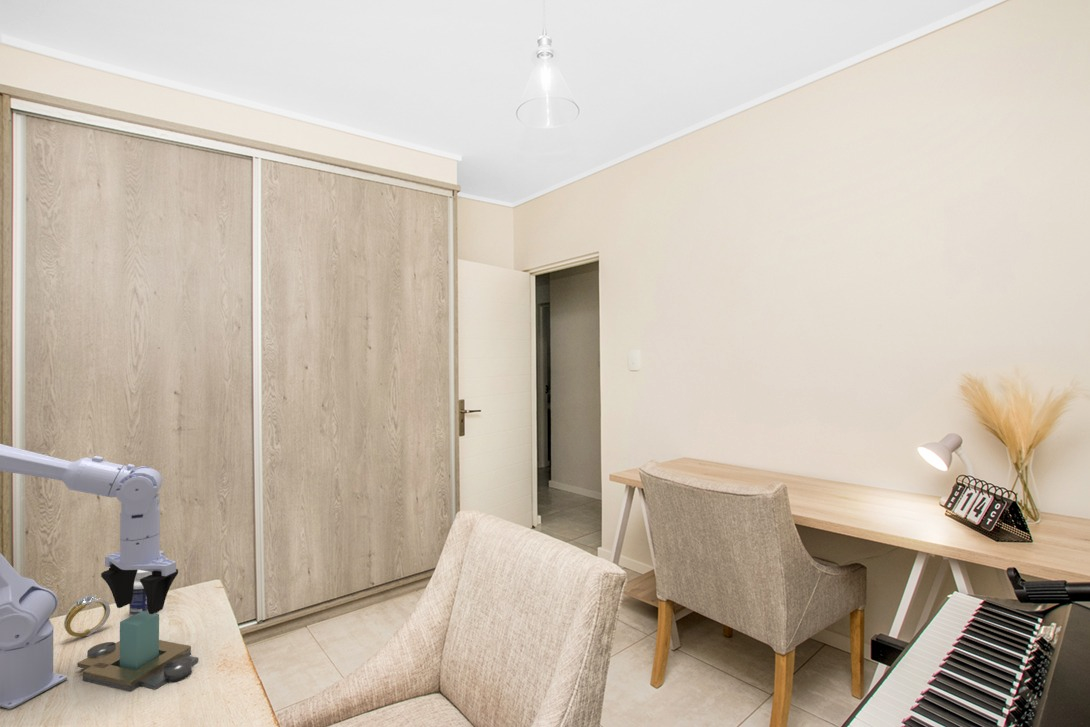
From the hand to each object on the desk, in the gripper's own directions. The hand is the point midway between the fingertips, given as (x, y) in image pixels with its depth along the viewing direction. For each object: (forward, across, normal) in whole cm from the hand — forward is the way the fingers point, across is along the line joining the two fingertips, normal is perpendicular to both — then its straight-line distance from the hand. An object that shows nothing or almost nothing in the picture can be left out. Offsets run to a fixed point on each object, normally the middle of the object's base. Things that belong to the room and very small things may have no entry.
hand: (139, 608), depth 92 cm
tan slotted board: (+10, +2, +1) cm, 11 cm away
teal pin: (+10, -1, 0) cm, 10 cm away
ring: (+11, +19, -4) cm, 23 cm away
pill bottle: (+11, +18, -14) cm, 25 cm away
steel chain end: (+10, -3, +1) cm, 11 cm away
